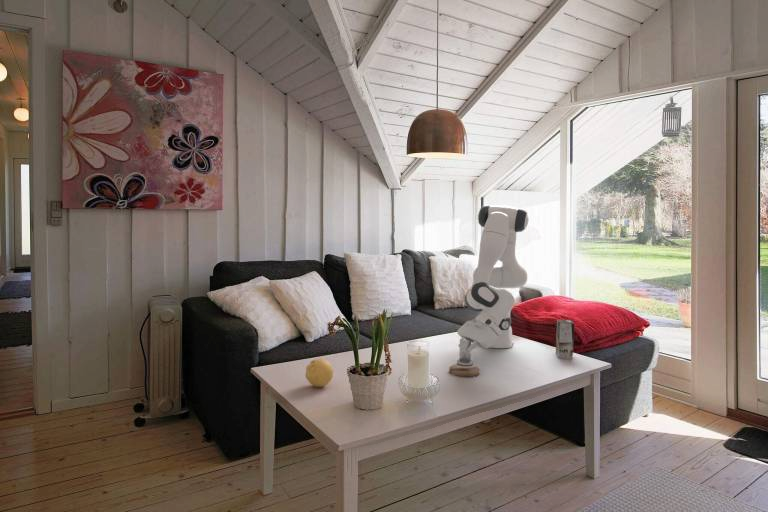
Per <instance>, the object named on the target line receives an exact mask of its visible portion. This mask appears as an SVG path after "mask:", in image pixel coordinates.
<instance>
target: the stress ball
mask: <svg viewBox="0 0 768 512" xmlns="http://www.w3.org/2000/svg"><path fill="white" fill-rule="evenodd" d="M333 377H334V368H333V366H332V365H331V363H330V362H329V361H328V360H327V359H323V358H317V359H313V360H311V361H310V362H309V363H308V364H307V366H306V368H305V379H306V380H307V381H308V382H309V384H311V385H312V386H314V387H316V388H323V387H324V386H327V385H328V384H329V383H331V381H332V379H333Z"/></svg>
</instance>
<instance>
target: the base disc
mask: <svg viewBox="0 0 768 512" xmlns="http://www.w3.org/2000/svg"><path fill="white" fill-rule="evenodd" d="M448 369H449V373H450V374H451V375H453V376H454V377H455V376H456V377H461V378H474V377H473V376H475V377H478V376H479V375H480V368H479V367H478V366H475V365H472V366H467V367H466V366H459V365H457V364H453V365H450V366H449V367H448ZM477 375H478V376H477Z"/></svg>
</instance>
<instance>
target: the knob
mask: <svg viewBox="0 0 768 512" xmlns="http://www.w3.org/2000/svg"><path fill="white" fill-rule="evenodd" d="M459 344H460V347H459V354H458V355H459V359H457V360H456V365H459V366H466V367H467V366H474V361H473V360H471V354H472V353H471V352H472V351H471V352H468V351H467V350H466V348H467V347H468V346H470V345H472V342H471V339H467V338H461V337H460V339H459Z"/></svg>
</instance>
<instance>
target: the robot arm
mask: <svg viewBox="0 0 768 512" xmlns="http://www.w3.org/2000/svg"><path fill="white" fill-rule="evenodd" d="M477 220H478V224H479V226H480V227H482V228H483V229H482V232H481V237H480V243H479V252H478V262H477V263H478V264H477V266H476V268H475V269H474V271H473V273H472V280H473V282H472V285H471V287H470V289H469V290H467V292H466V294H465V296H464V302H465V303H464V304H465V306H466V307H467V308H468V309H469V310H470V311H472V312H479V313H478V315H476V317H475V318H474V319H473V318H472V319H471V320H467V321H466V322H465V323H463V324H462V325H461V327H459V328H458V330H457V334H458V336H459V337H460V339H461V338H467V339H471V345H470V346H468V347H467V348H466V350H467V351H468V352H472V351H473V350H475V349H477V348H479V347H481V348H484V349H489V348H491V349H509V348H510V349H511V348H512V347H513V345H514V343H515V341H513V328H512V326H511V324H512V317H511V311H512V310H513V308H514V306H515V303H516V302H515V301H516V300H515V298H514V296H513V293H511V292H510V290H508V289H518V288H523V287H524V286H525V285H526V284H527V281H528V273H527V270H526V269H525V268H524V267H523V266H522V265H520V263H519V262H518V260H517V257H516V243H517V233H521V232H523V231H525V230H526V228H527V227H528V224H529V220H530V219H529V214H528V211H527V210H526V209H525V208H521V207H518V208H517V207H513V206H508V205H492V204H485V205H482V207H480V209H479V211H478V214H477ZM498 261H499V262H501V265H500V264H499V265H496V264H497V263H498ZM458 348H460V343H458Z"/></svg>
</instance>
